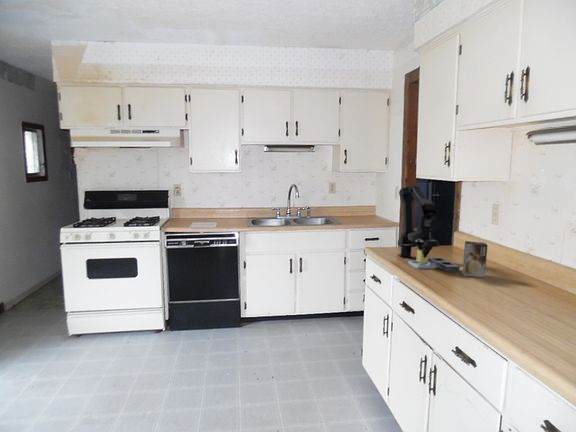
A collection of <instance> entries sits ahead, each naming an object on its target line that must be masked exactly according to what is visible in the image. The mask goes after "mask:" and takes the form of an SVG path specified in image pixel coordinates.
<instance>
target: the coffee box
mask: <svg viewBox="0 0 576 432" xmlns="http://www.w3.org/2000/svg"><path fill="white" fill-rule="evenodd" d="M487 255H488V244H487V243H485V242H481V241H467V240H464V249H463V258H462V259H463V261H462V269H461V270H462V271H461V273H462V275H464V277H465V276H466V277H475V278H476V277H477V278H478V277H479V278H485V277H486V265H487Z"/></svg>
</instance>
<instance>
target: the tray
mask: <svg viewBox="0 0 576 432" xmlns="http://www.w3.org/2000/svg"><path fill="white" fill-rule="evenodd" d="M408 265H410V266H412V267H413V268H415V269H417V270H436V269H437V266H435V265H433V264H431V263H429V262H428V264H419V263H417V262H416V260H408Z"/></svg>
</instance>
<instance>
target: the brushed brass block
mask: <svg viewBox="0 0 576 432" xmlns="http://www.w3.org/2000/svg"><path fill="white" fill-rule="evenodd" d="M416 250H417V251H416V260H415V261H416V262H417V263H419V264H428V260H429V253H430V252H429V253H428V255H427V257H426V258H424V256H423V249H418V248H417V249H416Z"/></svg>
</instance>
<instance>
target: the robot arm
mask: <svg viewBox="0 0 576 432" xmlns="http://www.w3.org/2000/svg"><path fill="white" fill-rule="evenodd" d="M398 194H399V200H400V202H401V203H402V207H403V208H402V209H403V211H402V212H403V214H402V215H403V228H402V231H401V232H400V237H399V239H398V240H397V246H399V247H400V253H399V254H397V255H398V256H399V257H401V258H403V259H406V258H408V259H411V258H412V259H413V258H414V256H413V255H412V248H415V247H416V246H417V249H423V256H424V258H426V257H427V255H428V253H430V252H431V251H432V249H433V248H437V247H439V246H440V245H439V241H438V240H436V239H432V236H431V233H433V231H439V230H440V229H441V227H442V222H441V220H439V213H438V210H437V207H436V205H435V203H434V202H432V201H431V200H429V199H427V198H426V196H425V195H424V194H423V192H422V190H421V188H420V186H419V185H410V186H407V187H402V188H401V189H399V191H398ZM414 201H415V202H416V203H417V205H418V206H417V210H418V212H419V215H418V217H419V227H418V228H417V229H416V230H414V228H413V227H414V225H413V223H414V222H413V202H414ZM428 256H429V255H428Z"/></svg>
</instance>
